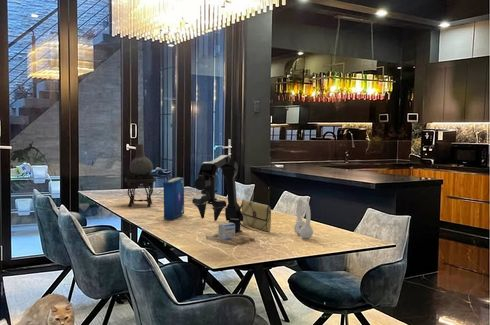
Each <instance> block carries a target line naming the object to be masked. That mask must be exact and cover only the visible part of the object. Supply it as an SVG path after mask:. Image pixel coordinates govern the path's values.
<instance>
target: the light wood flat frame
mask: <svg viewBox="0 0 490 325" xmlns="http://www.w3.org/2000/svg"><path fill="white" fill-rule="evenodd" d="M239 235H240V234H236V233H235V236H239ZM205 238H206V240H210V241H214V242H219V243H223V244H226V245H232V246H235V247H236V246H238V244H237V243H236V242H232V240H224V239H219V232H218V233H215V234H209V235H206V237H205ZM249 242H256V238H255V237H250V236H249Z"/></svg>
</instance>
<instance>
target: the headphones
mask: <svg viewBox="0 0 490 325" xmlns="http://www.w3.org/2000/svg"><path fill="white" fill-rule="evenodd" d="M303 204H304V209H305V221H303V218H302V205H303ZM296 214H297V215H296V218H297V219H296V221H295V224H294V225H293V226H294V227H293V229H294V232H295V234H297V235H299V236H300V237H301V238H302V239H304V240H305V239H306V240H307V239H310V238H312V236H313V234H314V231H313V227H312V226H311V206H310V204H309V202H308V200H307V199H305V198H304V199H299V201H298V203H297V208H296Z"/></svg>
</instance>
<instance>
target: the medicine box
mask: <svg viewBox="0 0 490 325" xmlns="http://www.w3.org/2000/svg"><path fill="white" fill-rule="evenodd" d="M218 233H219V237H218V238H219V239H224V240H228V241H232V237H233V236H235V234H236V233H235V223H229V222H225V223H220V224H218Z"/></svg>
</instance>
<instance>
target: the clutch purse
mask: <svg viewBox="0 0 490 325" xmlns="http://www.w3.org/2000/svg"><path fill="white" fill-rule="evenodd" d="M239 206H240V210H241V212H242V214H243V221H241V222H242V223H241V222H240V226H242V227H243V228H246V229H248V230H251V231H253V232H257V230H255V229H252V228H256V229H258V232H259V231H261V230H262V231H265V232H268V233H269V232H271V226H272V225H271V224H272V222H271V221H272V218H271V217H272V206H271V205H267V204H263V203H259V202H255V201H252V200H246V199H243V200H241V204H240V205H239ZM245 225H247V226H245ZM248 226H249V227H252V228H249V227H248Z"/></svg>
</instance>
